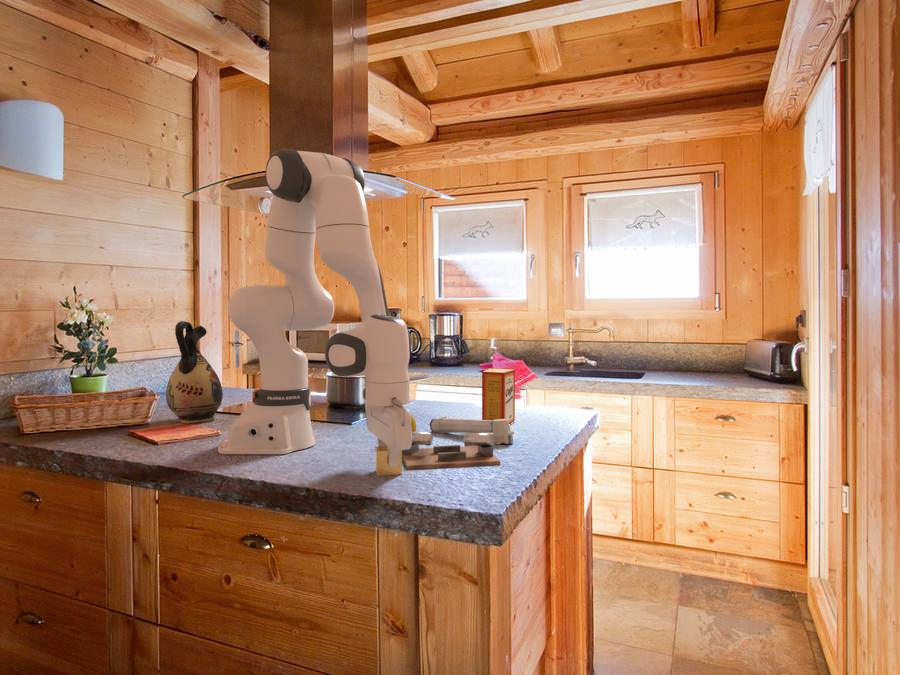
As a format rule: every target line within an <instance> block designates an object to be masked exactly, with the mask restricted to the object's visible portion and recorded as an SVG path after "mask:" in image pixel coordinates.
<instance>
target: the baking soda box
mask: <svg viewBox="0 0 900 675" xmlns="http://www.w3.org/2000/svg"><path fill="white" fill-rule="evenodd" d="M515 390H516V369H513V368H511V369H509V368H488V369H486V370H482V372H481V416H482V417H481V420H491V421H493V420H497V419H507V420H508V422H509V424H511V423H512V422H514V421H516V420H515V419H516V418H515V417H516V415H515V414H516V413H515V410H516V407H515V406H516V404H515V402H516V397H515V396H516V395H515V394H516V393H515V392H516V391H515ZM514 423H515V422H514ZM511 425H512V424H511Z"/></svg>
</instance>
